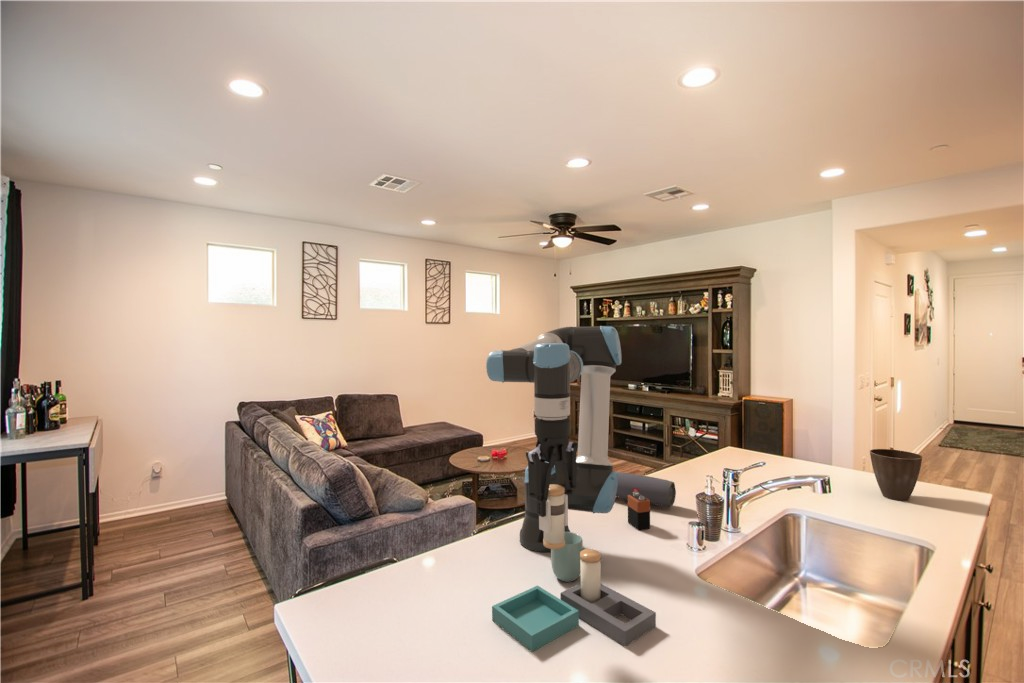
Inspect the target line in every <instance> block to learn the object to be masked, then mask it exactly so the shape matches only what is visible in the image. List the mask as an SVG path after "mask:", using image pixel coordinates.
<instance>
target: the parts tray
mask: <svg viewBox="0 0 1024 683" xmlns="http://www.w3.org/2000/svg"><path fill="white" fill-rule="evenodd" d="M491 615H492V617H491V619H492V622H494V623H495V624H496V625H497V626H499V627H500V628H501V629H503V630H504V631H505V632H506V633H508V634H509V635H510V636H511V637H512V638H514V639H515V640H517V641H518V642H519V643H520V644H522V645H523V646H524V647H526V648H527V649H528V650H529V651H531V652H534V651H536V650H537V649H540V648H541V647H544V646H545V645H547V644H548V643H550V642H552V641H554V640H556V639H557V638H559V637H561V636H562V635H565V634H566V633H568V632H570V631H571V630H573V629H575V628H577V627H579V626H580V618H579V611H578V610H577V609H575V608H573V607H572V606H570V605H569V604H567V603H565V602H564V601H562V600H561V598H559V597H557V596H555V595H554V594H552V593H551V592H549V591H547V590H546V589H544V588H542V587H541V586H540V585H535V586H533V587H531V588H529V589H527V590H524V591H523V592H520V593H518V594H515V595H514V596H511V597H509V598H507V599H505V600H502V601H500V602H498V603H496V604H493V605H492V606H491Z"/></svg>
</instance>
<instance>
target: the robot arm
mask: <svg viewBox="0 0 1024 683" xmlns="http://www.w3.org/2000/svg"><path fill="white" fill-rule="evenodd" d="M485 364H486V365H485V368H486V374H487V377H488V379H490V381H492V382H500V383H503V384H504V383H531V384H532V383H533V384H534V387H533V388H534V389H533V390H534V401H533V402H534V404H533V406H534V412H533V413H534V416H535V418H534V434H535V436H536V443H535V448H533V449H532V450H527V451H526V452H525V457H526V461H527V466H526V468H525V471H524V480H523V482H524V512H525V513H524V517H523V520H522V521H523V522H522V526H521V529H520V530H519V543H520V545H521V544H522V545H523V546H522V547H524V548H525V547H526V549H527V548H528V549H527V550H530V549H531V550H530V551H533V550H535V552H539V551H540V553H551V549H548V548H546V547H545V546H544V545H543V539H544V531H545V532H547V533H550V532H551V501H550V500H547V499H548V492H549V485H551V484H556V485H561V486H563V487H564V488H565V493H564V502H565V512H564V525H565V532H571V530H570V528H569V511H570V510H571V511H578V512H587V513H592V514H609V513H610V512H611V511H612V510H613V508H614V505H615V501H616V493H617V486H618V473H617V472H618V471H616V470H613V467H614V464H613V463H612V462H611V461H610V459H609V457H608V456H609V451H608V450H609V430H610V429H609V427H610V426H609V425H610V421H609V420H610V401H611V400H610V399H611V398H610V396H611V395H610V394H611V376H613V374H614V373H616V371H617V370H616V369H617V366H620V365H621V364H622V348H621V341H620V335H619V332H618V330H617V329H616V328H615V327H614V326H603V325H598V326H597V325H595V326H594V325H593V326H564V327H560V328H556V329H551V330H549V331H547V332H544V333H542V334H540V335H538V336H537V337H536V338H535V340H533V341H531V342H530V341H529V342H527V343H525V344H524V345H520V346H518V347H516V348H512V349H508V350H503V349H500V350H493V351H491V352H489V354H488V356H487V359H486V363H485ZM579 377H580V381H581V382H580V398H579V399H580V400H579V415H578V416H579V418H578V419H579V420H578V436H577V437H578V438H577V439H578V441H577V442H575V441H570V440H569V436H570V435H571V430H572V429H571V418H570V417H569V416H570V415H571V383H573V382H575V381H576V380H577V379H578V378H579Z"/></svg>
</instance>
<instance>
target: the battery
mask: <svg viewBox="0 0 1024 683" xmlns="http://www.w3.org/2000/svg"><path fill="white" fill-rule="evenodd" d="M627 523H628V524H629V525H630V526H632V527H634V528H635V529H636V530H637V531H643V530H644V531H645V530H649V529H651V506H650V500H648V499H647V498H645V497H644V496H642V495H640V494H639V493H638V492H633V494H632V495H628V502H627Z"/></svg>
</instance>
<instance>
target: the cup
mask: <svg viewBox="0 0 1024 683" xmlns="http://www.w3.org/2000/svg"><path fill="white" fill-rule="evenodd" d="M583 544H584V543H583V538H582V536H581V535H579V534H578V533H575V532H572V531H570V532H565V547H563V548H561V549H551V552H550V560H551V562H550V563H551V568H552V572H553V574H554V576H555V577H556V579H558V580H560V581H562V582H567V583H568V582H574V581H575V580H577V579H578V578H580V577H581V567H580V552H581V551H582V550H584V546H583Z"/></svg>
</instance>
